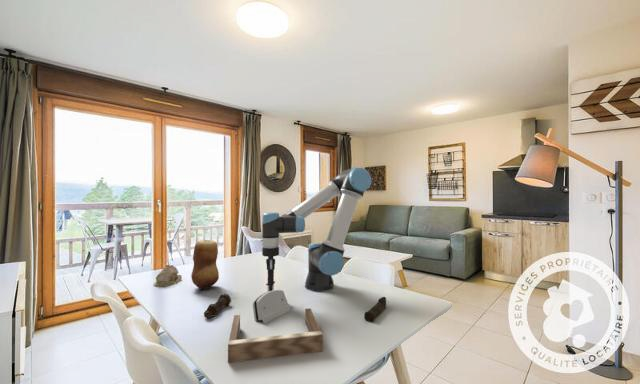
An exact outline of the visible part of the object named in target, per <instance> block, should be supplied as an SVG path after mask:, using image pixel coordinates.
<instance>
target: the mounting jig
mask: <svg viewBox="0 0 640 384" xmlns="http://www.w3.org/2000/svg"><path fill="white" fill-rule="evenodd" d="M304 313H305V321H304V322H305V325H306V327H307V330H308V332H297V333H290V334H282V335H281V334H279V335H270V336H260V337H252V338H242V339H239V338H240V331H241V314H234V315H233V320H232V325H231V329H230V333H229V339H228V343H227V363H228V364H229V363H238V362H245V361H253V360H261V359H262V360H263V359H268V358H269V359H270V358H278V357H284V356H287V357H288V356H294V355H302V354H311V353H312V354H313V353H320V352H323V349H324V348H323V347H324V346H323V345H324V341H323V340H324V339H323V338H324V337H323V332H322V331H321V329H320V326H319V323H318V322H317V319H316V318H315V315H314V313H313V311H312V308H305V311H304Z"/></svg>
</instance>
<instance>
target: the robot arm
mask: <svg viewBox="0 0 640 384" xmlns="http://www.w3.org/2000/svg"><path fill="white" fill-rule="evenodd" d="M371 185H372V176H371V174H370V172H369V171H368V170H367V169H365V168H363V167H354V168H349V169H345V170H343V171H341V172H340V173H339V174H338V175H336V176H335V177H333V179H331V180H329V181H328V184H327V185H326V186H323V188H321V189H320V190H319V191H317V192H315V193H314V194H313V195H311V196H310V197H308V198H307V199H305V200H303V201H302V202H301V203H299V204H298V205H297V206H295V207H294V208H292V209H291V210H289V211H287V212H286V213H283V214H282V215H280V213H279V212H264V213H263V214H262V221H261V224H262V225H261V227H262V228H261V229H262V232H261V233H262V239H260V242H261V243H262V245H261V246H262V248H261V251H262V252H261V254H262V256H263V257H267V258H266V259H265V260H266V261H265V262H266V270H267V283H266V284H265V285H266V286H267V292H269V291H273V290H275V289H274V285H275V283H276V281H275V278H274V276H275V272H274V271H275V270H276V269H275V264H276V259H275V258H274V257H277V256H279V255H280V247H279V246H280V234H286V233H287V234H293V233H295V234H296V233H297V234H298V233H303V232H305V229H306V220H305V219H306V218H307V217H309V216H310V215H312V214H313V213H314V212H316V211H317V210H318V209H320V208H321V207H323V206H324V205H325V204H327V203H328V202H330V201H331V200H333V199H335V198H336V197H340V200H339V202H338V205H337V209H336V211H335V214H334V215H333V216H334V217H333V220H332V223H331V225H330V229H329V232H328V234H327V237H326V239H325V240H323V241H322V242H315V243H309V244H308V249H307V253H308V254H307V255H308V262H307V263H308V268H307V269H308V271H307V275H306V279H305V282H304V285H305V286H304V287H305V289H307V290H309V291H313V292H325V291H329V290H331V289H334V287H335V285H334V279H333V276H335V275H337V274H340V272H341V271H343V268H344V266H345V258H344V253H345V251H346V250H345V248H344V243H345V240H346V238H347V234H348V231H349V229H350V225H351V223H352V219H353V217H354V215H355V214H354V213H355V211H356V209H357V205H358V202H359V200H360V199H362V198H364V197H363V196H364V194H365V191H367V190H368V189H369V188H370V187H371Z"/></svg>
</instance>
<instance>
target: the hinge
mask: <svg viewBox="0 0 640 384" xmlns="http://www.w3.org/2000/svg"><path fill="white" fill-rule="evenodd" d="M286 297H287V296H286V295H285V291H284V290H281V289H276V290H275V289H274V290H273V291H269V292H268V291H266V292H264V293H262V294H260V295H259V296H257V297H256V298H255V299H254V300H253V301H252V311H253V319H254V322H257V321H262V324H266V323H268V322H270V321H272V320H273V319H276V318H277V317H279V316H281V315H283V314H286V313H288V312H289V311H291V310H292V308H291V304H289V303H288V300H287V298H286Z"/></svg>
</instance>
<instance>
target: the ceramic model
mask: <svg viewBox="0 0 640 384" xmlns="http://www.w3.org/2000/svg"><path fill="white" fill-rule="evenodd" d="M179 272H180V271H179V270H178V268H177V267H176V266H174V265H173V264H166V265H165V267H163V269H162V270H161V271H160V272H159V273H158V274H157V275H156V277H155V280H156V281H155V282H154V283H153V286H154V287H167V286H173V285H175V284H177V283H179V282H181V281H182V277H183V276H182V274H179Z"/></svg>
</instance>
